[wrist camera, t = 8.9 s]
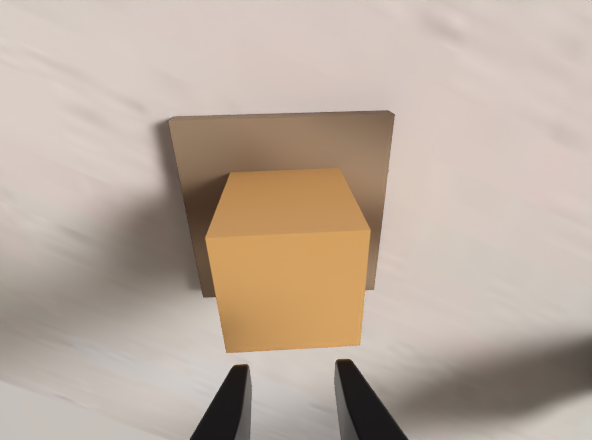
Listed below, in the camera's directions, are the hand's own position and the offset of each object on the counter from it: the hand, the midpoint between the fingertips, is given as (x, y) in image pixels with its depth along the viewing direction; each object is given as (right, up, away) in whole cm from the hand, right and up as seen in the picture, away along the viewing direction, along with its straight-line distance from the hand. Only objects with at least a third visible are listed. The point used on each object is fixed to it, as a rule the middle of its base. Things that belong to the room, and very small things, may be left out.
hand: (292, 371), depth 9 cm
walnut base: (0, +5, +9) cm, 10 cm away
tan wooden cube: (0, +4, +8) cm, 9 cm away
